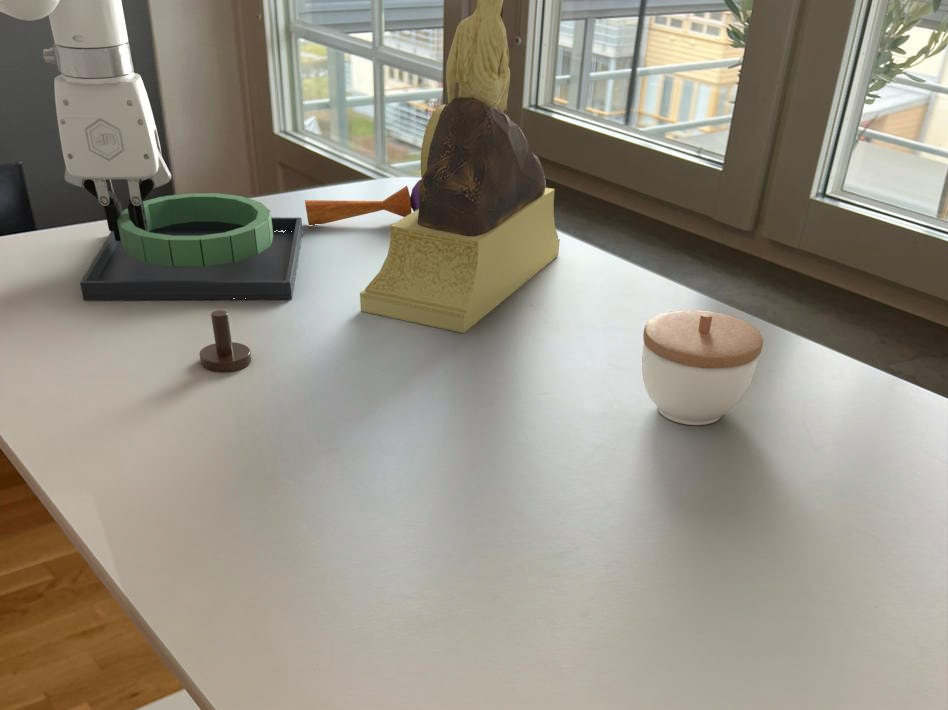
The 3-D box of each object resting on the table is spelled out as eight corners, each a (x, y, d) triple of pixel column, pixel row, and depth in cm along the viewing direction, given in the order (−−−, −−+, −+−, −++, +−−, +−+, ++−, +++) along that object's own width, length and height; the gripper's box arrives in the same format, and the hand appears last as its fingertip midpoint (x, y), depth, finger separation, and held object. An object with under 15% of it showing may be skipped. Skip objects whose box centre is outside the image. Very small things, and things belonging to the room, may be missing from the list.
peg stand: (197, 372, 98) (189, 323, 95) (204, 351, 102) (196, 303, 99) (248, 371, 99) (242, 323, 95) (253, 350, 102) (247, 303, 99)
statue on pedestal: (467, 238, 131) (473, -34, 112) (558, 255, 127) (580, -25, 108) (360, 310, 111) (345, -6, 92) (463, 333, 107) (470, 8, 88)
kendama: (302, 187, 133) (449, 171, 135) (310, 234, 136) (453, 218, 138) (303, 191, 128) (455, 175, 130) (311, 240, 131) (459, 223, 133)
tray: (83, 300, 111) (79, 282, 110) (122, 232, 129) (119, 216, 128) (292, 299, 113) (290, 282, 112) (302, 233, 131) (301, 217, 130)
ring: (109, 267, 112) (104, 240, 110) (137, 218, 125) (133, 193, 123) (266, 266, 113) (263, 239, 112) (277, 218, 127) (275, 193, 125)
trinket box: (674, 446, 89) (691, 347, 83) (612, 396, 97) (624, 301, 91) (769, 425, 93) (792, 328, 87) (703, 378, 100) (720, 286, 94)
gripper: (11, 68, 103) (55, 248, 115) (164, 70, 104) (192, 247, 116) (30, 54, 109) (70, 227, 121) (175, 56, 110) (201, 227, 122)
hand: (130, 236), depth 118 cm, fingers closed on ring, 1 cm apart
